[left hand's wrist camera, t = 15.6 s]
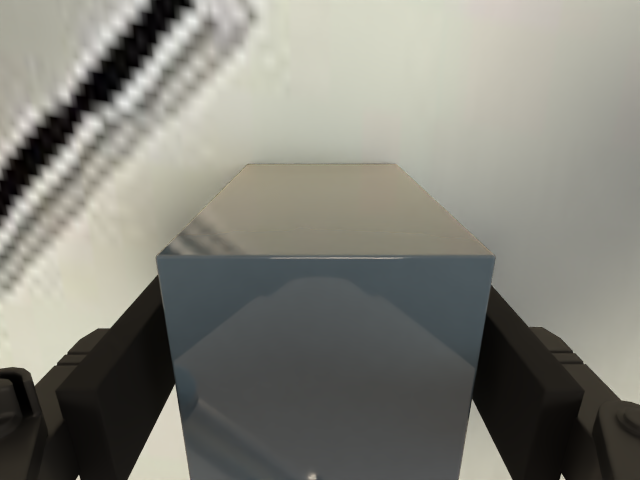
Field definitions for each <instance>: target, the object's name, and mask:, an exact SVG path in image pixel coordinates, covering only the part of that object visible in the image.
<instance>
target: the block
mask: <svg viewBox="0 0 640 480" xmlns="http://www.w3.org/2000/svg"><path fill="white" fill-rule="evenodd" d="M156 263H157V269H158V276H159V282H160V289H161V295H162V301H163V308H164V314H165V321H166V327H167V333H168V340H169V346H170V353H171V359H172V366H173V372H174V378H175V385H176V391H177V398H178V404H179V410H180V417H181V423H182V430H183V436H184V442H185V449H186V455H187V462H188V468H189V475H190V480H459V474H460V468H461V462H462V456H463V450H464V444H465V438H466V432H467V426H468V420H469V414H470V408H471V402H472V396H473V390H474V384H475V378H476V372H477V366H478V360H479V354H480V348H481V342H482V336H483V330H484V324H485V318H486V312H487V306H488V300H489V294H490V288H491V282H492V276H493V270H494V264H495V255H494V254H493V253H492V252H491V251H490V250H488V249H487V248H486V247H485V246H484V245H483V244H482V243H481V242H480V241H479V240H478V239H477V238H476V237H475V236H473V235H472V234H471V233H470V232H469V231H468V230H467V229H466V228H465V227H464V226H463V225H462V224H461V223H459V222H458V221H457V220H456V219H455V218H454V217H453V216H452V215H451V214H450V213H449V212H448V211H447V210H445V209H444V208H443V207H442V206H441V205H440V204H439V203H438V202H437V201H436V200H435V199H434V198H433V197H431V196H430V195H429V194H428V193H427V192H426V191H425V190H424V189H423V188H422V187H421V186H420V185H419V184H418V183H416V182H415V181H414V180H413V179H412V178H411V177H410V176H409V175H408V174H407V173H406V172H405V171H404V170H402V169H401V168H400V167H399V166H398V165H397V164H247V165H246V166H245V167H244V168H243V169H242V170H241V171H240V172H239V173H238V174H237V175H236V176H235V177H234V178H233V179H232V180H231V181H230V182H229V183H228V184H227V185H226V186H225V187H224V188H223V189H222V190H221V191H220V192H219V193H218V194H217V195H216V196H215V197H214V198H213V199H212V200H211V201H210V202H209V203H208V204H207V205H206V206H205V207H204V208H203V209H202V210H201V211H200V212H199V213H198V214H197V215H196V216H195V217H194V218H193V219H192V220H191V221H190V222H189V223H188V224H187V225H186V226H185V227H184V228H183V229H182V230H181V231H180V232H179V233H178V234H177V235H176V236H175V237H174V238H173V239H172V240H171V241H170V242H169V243H168V244H167V245H166V246H165V247H164V248H163V249H162V250H161V251H160V252H159V253H158V254H157V255H156Z"/></svg>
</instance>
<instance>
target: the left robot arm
mask: <svg viewBox="0 0 640 480" xmlns="http://www.w3.org/2000/svg"><path fill="white" fill-rule="evenodd" d="M174 385H175V378H174V372H173V366H172V359H171V353H170V346H169V340H168V333H167V327H166V321H165V314H164V308H163V301H162V295H161V289H160V282H159V276H158V275H157V276H156V277H155V279H154V280H153V281H152V282H151V283H150V284H149V285H148V286H147V288H146V289H145V290H144V291H143V292H142V293H141V294H140V296H139V297H138V298H137V299H136V300H135V301H134V302H133V303H132V305H131V306H130V307H129V308H128V309H127V310H126V311H125V312H124V314H123V315H122V316H121V317H120V318H119V319H118V320H117V321H116V323H115V324H114V325H113V326H112V327H111V328H110V329H96V330H95V331H93V332H92V333H90V334H88V335H87V336H85V337H83V338H82V339H80V340H79V341H78V342H77V343H76V344H75V345H74V346H73V347H72V348H71V349H70V350H69V351H68V354H67V355H64V356H63V358H62V359H61V360H60V361H59V362H58V363H57V366H54V367H53V368H52V369H51V370H50V371H49V372H48V373H47V374H46V375H45V376H44V377H43V378H42V379H41V380H40V381H39V382H38V383H37V384H36V385H35V386H34V383H33V380H32V377H31V374H30V372H28V371H27V370H25V369H24V368H15V367H10V368H2V369H0V480H76V478H77V477H78V475H79V476H80V479H81V480H127V479H128V477H129V475H130V473H131V471H132V469H133V467H134V465H135V463H136V461H137V459H138V457H139V455H140V453H141V451H142V449H143V447H144V445H145V443H146V441H147V439H148V437H149V435H150V433H151V431H152V429H153V427H154V425H155V423H156V421H157V419H158V417H159V415H160V413H161V411H162V409H163V407H164V405H165V403H166V401H167V399H168V397H169V395H170V393H171V391H172V389H173V387H174ZM472 399H473V401H474V403H475V405H476V407H477V409H478V411H479V413H480V415H481V417H482V419H483V421H484V423H485V425H486V427H487V429H488V431H489V433H490V435H491V437H492V439H493V441H494V443H495V445H496V447H497V449H498V451H499V453H500V455H501V457H502V459H503V461H504V463H505V465H506V467H507V469H508V471H509V473H510V475H511V477H512V479H513V480H559V479H560V476H561V473H562V475H563V476H564V478H565V479H566V480H640V405H638V404H635V403H633V402H627V401H621V400H620V399H619V398H618V397H617V396H616V395H615V394H614V393H613V392H612V391H611V389H610V388H609V387H608V386H607V385H606V384H605V383H604V382H603V381H602V380H601V379H600V378H599V377H598V376H597V375H596V374H595V373H594V372H593V371H592V370H591V369H590V368H589V367H588V366H587V365H586V364H583V361H582V360H581V359H580V358H579V357H578V356H577V355H576V354H575V353H573V351H572V350H571V349H570V348H569V346H568V345H567V344H566V343H565V342H564V341H563V340H562V339H561V338H559V337H558V336H556V335H554V334H553V333H551V332H549V331H548V330H546V329H544V328H543V327H528V326H527V325H526V324H525V323H524V321H523V320H522V319H521V318H520V317H519V316H518V315H517V314H516V312H515V311H514V310H513V309H512V308H511V307H510V306H509V305H508V303H507V302H506V301H505V300H504V299H503V298H502V297H501V296H500V294H499V293H498V292H497V291H496V290H495V289H494V288H493V286H492V285H491V288H490V294H489V300H488V306H487V312H486V318H485V324H484V330H483V336H482V342H481V348H480V354H479V360H478V366H477V372H476V378H475V384H474V390H473V396H472Z"/></svg>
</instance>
